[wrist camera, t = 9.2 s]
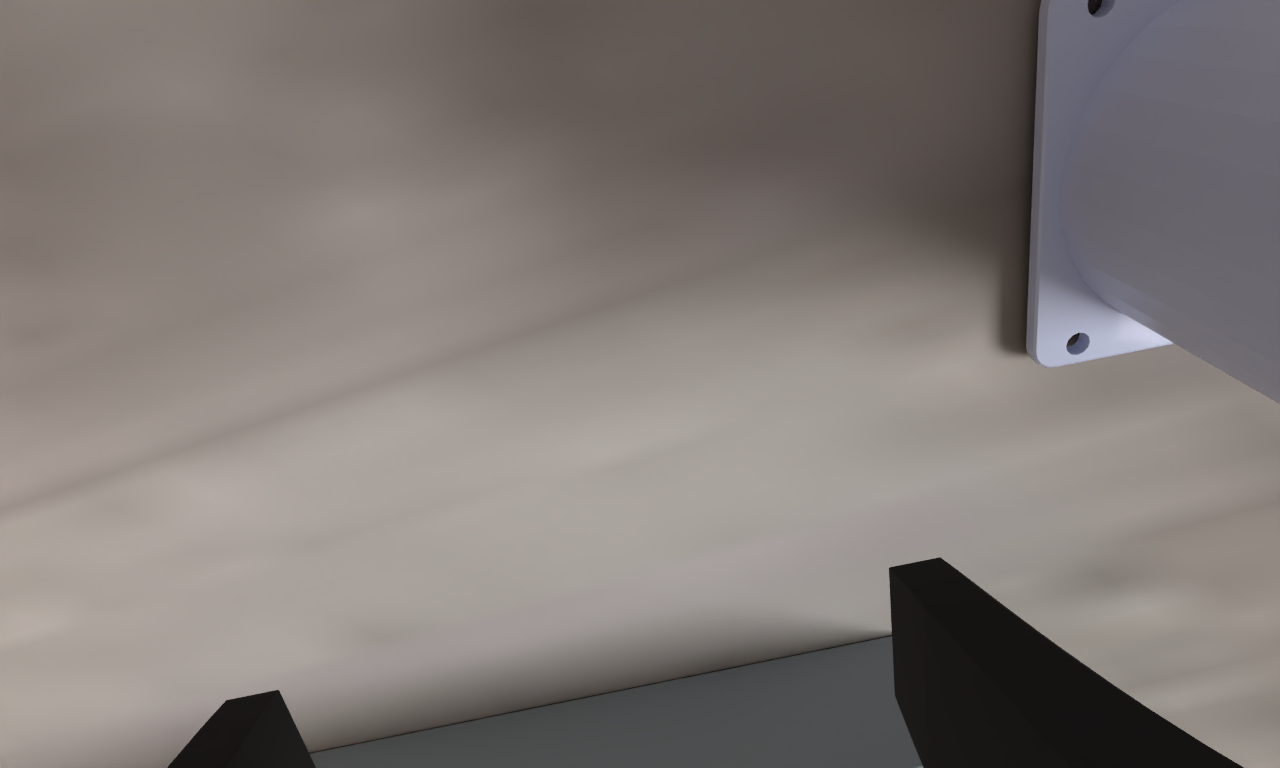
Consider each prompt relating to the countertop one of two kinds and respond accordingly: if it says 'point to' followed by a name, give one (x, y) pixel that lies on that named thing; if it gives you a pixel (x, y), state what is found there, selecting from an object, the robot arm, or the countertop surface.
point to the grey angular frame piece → (685, 723)
